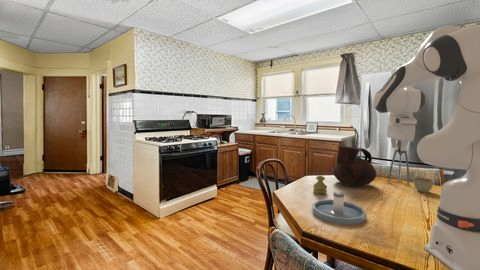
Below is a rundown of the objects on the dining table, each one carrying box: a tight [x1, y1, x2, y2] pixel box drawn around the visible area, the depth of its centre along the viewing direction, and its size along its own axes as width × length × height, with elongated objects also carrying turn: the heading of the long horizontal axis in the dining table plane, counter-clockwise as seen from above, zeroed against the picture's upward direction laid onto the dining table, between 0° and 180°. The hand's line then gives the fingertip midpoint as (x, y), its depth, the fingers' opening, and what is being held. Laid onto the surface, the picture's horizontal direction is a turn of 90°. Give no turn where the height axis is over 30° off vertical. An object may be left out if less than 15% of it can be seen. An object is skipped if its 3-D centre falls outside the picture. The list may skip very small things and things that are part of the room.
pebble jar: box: [332, 191, 345, 214], centre depth 109 cm, size 5×5×8 cm
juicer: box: [388, 140, 410, 186], centre depth 156 cm, size 10×11×30 cm
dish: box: [311, 198, 367, 226], centre depth 110 cm, size 22×22×2 cm
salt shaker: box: [312, 175, 328, 196], centre depth 138 cm, size 7×8×10 cm
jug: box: [332, 145, 377, 187], centre depth 154 cm, size 25×25×25 cm
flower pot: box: [412, 176, 435, 194], centre depth 142 cm, size 10×10×7 cm
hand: (398, 149), depth 112 cm, fingers open, 8 cm apart
